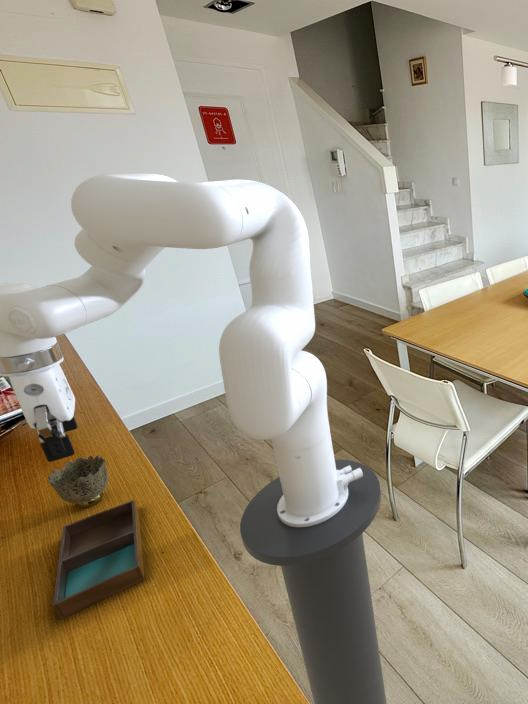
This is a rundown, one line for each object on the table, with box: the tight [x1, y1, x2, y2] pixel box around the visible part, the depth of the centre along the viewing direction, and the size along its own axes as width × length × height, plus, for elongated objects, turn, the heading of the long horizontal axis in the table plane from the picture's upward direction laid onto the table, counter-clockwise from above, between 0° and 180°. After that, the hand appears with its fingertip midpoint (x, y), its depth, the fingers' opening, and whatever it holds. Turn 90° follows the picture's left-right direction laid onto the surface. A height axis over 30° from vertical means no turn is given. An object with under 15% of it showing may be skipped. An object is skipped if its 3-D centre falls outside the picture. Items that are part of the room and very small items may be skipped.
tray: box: [52, 499, 145, 621], centre depth 67 cm, size 9×18×3 cm, turn 42°
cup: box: [47, 455, 109, 509], centre depth 78 cm, size 8×7×8 cm
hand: (64, 443), depth 74 cm, fingers open, 9 cm apart
